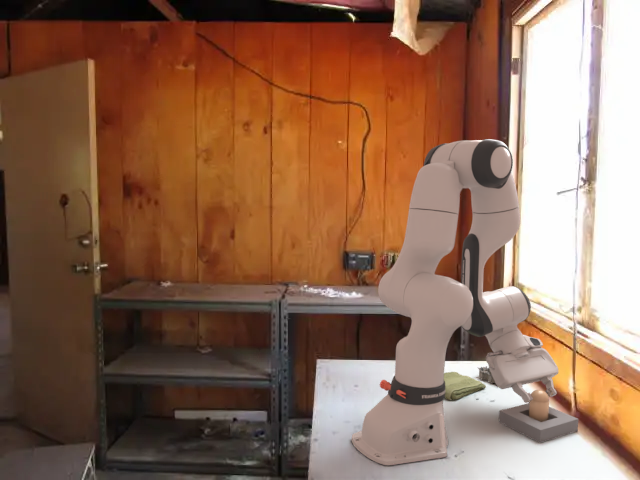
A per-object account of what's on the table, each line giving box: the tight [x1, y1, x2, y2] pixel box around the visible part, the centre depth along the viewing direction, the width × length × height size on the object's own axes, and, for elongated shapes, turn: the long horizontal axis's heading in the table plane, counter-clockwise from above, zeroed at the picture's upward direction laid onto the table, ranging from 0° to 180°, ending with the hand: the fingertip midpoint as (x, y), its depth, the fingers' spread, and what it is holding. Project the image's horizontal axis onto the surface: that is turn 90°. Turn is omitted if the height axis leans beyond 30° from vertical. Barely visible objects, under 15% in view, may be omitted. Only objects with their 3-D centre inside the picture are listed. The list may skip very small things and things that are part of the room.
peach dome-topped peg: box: [529, 389, 550, 422], centre depth 123 cm, size 4×4×8 cm
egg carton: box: [477, 366, 496, 384], centre depth 155 cm, size 11×8×4 cm
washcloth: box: [444, 371, 487, 401], centre depth 147 cm, size 13×18×3 cm
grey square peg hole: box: [498, 402, 579, 443], centre depth 123 cm, size 14×12×3 cm
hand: (541, 398), depth 122 cm, fingers open, 8 cm apart
